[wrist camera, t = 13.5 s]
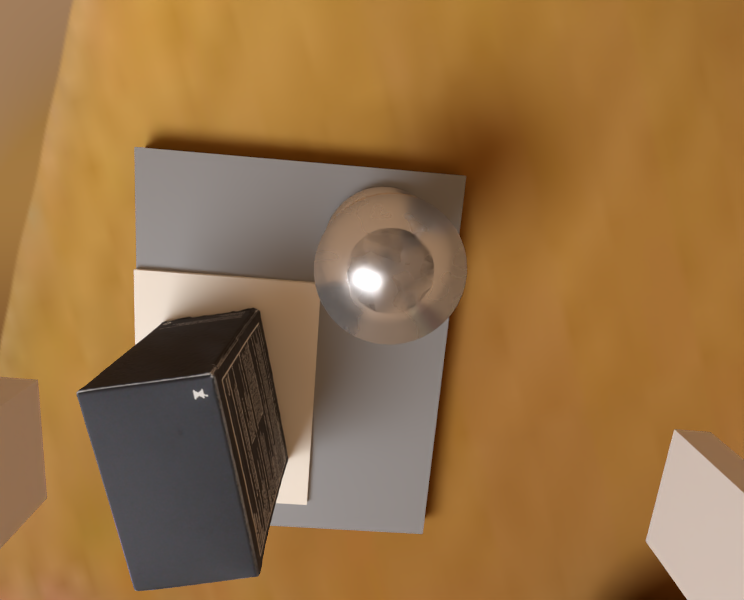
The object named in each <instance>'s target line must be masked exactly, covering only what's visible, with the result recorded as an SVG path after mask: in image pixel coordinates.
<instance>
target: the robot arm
mask: <svg viewBox="0 0 744 600" xmlns="http://www.w3.org/2000/svg"><path fill="white" fill-rule="evenodd" d="M46 499H47V492H46V479H45V466H44V453H43V440H42V427H41V414H40V401H39V388H38V380H32V379H19V378H7V377H0V548H1V547H2V546H3V545H4V544H5V543H6V542H7V541H8V540H9V539H10V538H11V536H12V535H13V534H14V533H15V532H16V531H17V530H18V529H19V528H20V527H21V526H22V525H23V524H24V522H25V521H26V520H27V519H28V518H29V517H30V516H31V515H32V514H33V513H34V512H35V511H36V509H37V508H38V507H39V506H40V505H41V504H42V503H43V502H44V501H45V500H46ZM646 542H647V544H648V545H649V546H650V548H651V549H652V551H653V552H654V554H655V555H656V556H657V558H658V559H659V561H660V562H661V563H662V565H663V566H664V568H665V569H666V571H667V572H668V573H669V575H670V576H671V578H672V579H673V580H674V582H675V583H676V585H677V586H678V587H679V589H680V590H681V592H682V593H683V595H684V596H685V597H686V599H687V600H744V460H743V459H742V458H741V457H740V456H739V455H737V454H736V453H735V452H734V451H732V450H731V449H730V448H729V447H728V446H726V445H725V444H724V443H723V442H722V441H720V440H719V439H718V438H717V437H716V436H714V435H713V434H712V433H711V432H703V431H690V430H677V429H674V433H673V436H672V440H671V444H670V448H669V452H668V456H667V460H666V464H665V468H664V472H663V476H662V479H661V483H660V487H659V491H658V495H657V499H656V503H655V507H654V511H653V515H652V519H651V523H650V526H649V530H648V534H647V538H646Z"/></svg>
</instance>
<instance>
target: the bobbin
mask: <svg viewBox="0 0 744 600" xmlns="http://www.w3.org/2000/svg"><path fill="white" fill-rule="evenodd" d="M466 277H467V260H466V254H465V249H464V246H463V243H462V240H461V238H460V236H459V234H458V232H457V230H456V229H455V227H454V226H453V224H452V223H451V221H450V220H449V219H448V218H447V217H446V216H445V215H444V214H443V213H442V212H440V211H439V210H438V209H437V208H435V207H434V206H432V205H431V204H429V203H427V202H426V201H423V200H421V199H419V198H417V197H416V196H414V195H412V194H411V193H408V192H406V191H404V190H401V189H397V188H393V187H372V188H368V189H365V190H362V191H360V192H357V193H355V194H354V195H352V196H350V197H349V198H347V199H346V200H345V201H344V202H343V203H342V204H341V205H340V206H339V207H338V208H337V209H336V211H335V212H334V213H333V215H332V217H331V218H330V220H329V223H328V225H327V227H326V230H325V231H324V233H323V235H322V237H321V240H320V242H319V244H318V247H317V251H316V255H315V261H314V279H315V286H316V289H317V293H318V296H319V298H320V301H321V303H322V305H323V306H324V308H325V310H326V312H327V313H328V314H329V315H330V317H331V318H332V319H333V320H334V321H335V322H336V323H337V324H338V325H339V326H340V327H341V328H343V329H344V330H345V331H347V332H348V333H350V334H352V335H353V336H355V337H357V338H360V339H362V340H365V341H368V342H372V343H377V344H393V345H394V344H402V343H407V342H411V341H414V340H417V339H419V338H422V337H424V336H426V335H428V334H429V333H431V332H433V331H434V330H435V329H437V328H438V327H439V326H440V325H442V324H443V323H444V322H445V321H446V320H447V319H448V317H449V316H450V315H451V314H452V312H453V311H454V309H455V308H456V306H457V305H458V303H459V301H460V299H461V296H462V293H463V290H464V287H465V283H466Z"/></svg>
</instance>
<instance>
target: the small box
mask: <svg viewBox="0 0 744 600" xmlns="http://www.w3.org/2000/svg"><path fill="white" fill-rule="evenodd" d="M77 397H78V400H79V404H80V407H81V410H82V414H83V417H84V421H85V424H86V428H87V431H88V434H89V437H90V441H91V444H92V447H93V450H94V454H95V457H96V460H97V464H98V467H99V470H100V474H101V477H102V481H103V484H104V487H105V491H106V494H107V497H108V501H109V504H110V508H111V511H112V514H113V518H114V521H115V525H116V528H117V532H118V535H119V538H120V542H121V545H122V549H123V552H124V556H125V559H126V562H127V566H128V569H129V573H130V576H131V580H132V583H133V587H134V589H135V590H136V591H144V590H155V589H163V588H172V587H180V586H187V585H196V584H202V583H211V582H219V581H227V580H234V579H241V578H249V577H257V576H259V574H260V571H261V567H262V558H263V554H264V549H265V544H266V540H267V536H268V530H269V527H270V523H271V520H272V516H273V512H274V508H275V504H276V500H277V497H278V493H279V489H280V486H281V482H282V478H283V475H284V472H285V469H286V465H287V463H288V454H287V449H286V443H285V437H284V432H283V427H282V422H281V417H280V411H279V406H278V401H277V396H276V391H275V386H274V381H273V373H272V369H271V364H270V360H269V354H268V349H267V344H266V339H265V334H264V330H263V325H262V320H261V314H260V310H258V309H256V308H252V309H250V308H247V309H243V310H241V311H231V312H229V313H222V314H215V315H203V316H199V317H184V318H179V319H175V320H172V321H165V322H162V323H161V324H160V325H159V326H158V327H157V328H155V329H154V330H153V331H152V332H151V333H149V334H148V335H147V336H146V337H144V338H143V339H142V340H141V341H139V342H138V343H137V344H136V345H135V346H134V347H132V348H131V349H130V350H128V351H127V352H126V353H125V354H124V355H123V356H121V357H120V358H119V359H117V360H116V361H115V362H114V363H113V364H111V365H110V366H109V367H107V368H106V369H105V370H104V371H103V372H101V373H100V374H99V375H98V376H97V377H95V378H94V379H93V380H92V381H91V382H89V383H88V384H87V385H86V386H84V387H83V388H81V389H80V390H79V391H78V392H77Z"/></svg>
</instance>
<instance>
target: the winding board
mask: <svg viewBox="0 0 744 600" xmlns="http://www.w3.org/2000/svg"><path fill="white" fill-rule="evenodd" d="M465 183H466V176H463V175H451V174H440V173H429V172H417V171H406V170H394V169H383V168H371V167H360V166H348V165H337V164H325V163H314V162H302V161H291V160H279V159H268V158H256V157H245V156H233V155H222V154H210V153H199V152H187V151H176V150H164V149H153V148H141V147H135V207H136V267H137V268H136V269H134V304H135V345H136V344H137V343H138V342H139V341H141V340H142V339H143V338H144V337H146V336H147V335H148V334H149V333H151V332H152V331H153V330H154V329H155V328H157V327H158V326H159V325H160V324H161V323H162V322H165V321H172V320H175V319H179V318H184V317H199V316H203V315H215V314H222V313H229V312H231V311H241V310H243V309H247V308H250V309H252V308H256V309H258V310H260V314H261V320H262V325H263V330H264V334H265V339H266V344H267V349H268V354H269V360H270V364H271V369H272V373H273V381H274V386H275V391H276V396H277V401H278V406H279V411H280V417H281V422H282V427H283V432H284V437H285V443H286V449H287V454H288V463H287V465H286V469H285V472H284V475H283V478H282V482H281V486H280V489H279V493H278V497H277V500H276V504H275V508H274V512H273V516H272V520H271V523H270V525H271V526H289V527H307V528H325V529H343V530H361V531H379V532H396V533H414V534H423V527H424V519H425V510H426V502H427V494H428V486H429V478H430V470H431V461H432V453H433V445H434V437H435V429H436V420H437V412H438V404H439V396H440V388H441V380H442V371H443V363H444V355H445V347H446V339H447V330H448V322H449V317H448V319H447V320H446V321H445V322H444V323H443V324H442V325H440V326H439V327H438V328H437V329H435V330H434V331H433V332H431V333H429V334H428V335H426V336H424V337H422V338H419V339H417V340H414V341H411V342H407V343H402V344H394V345H393V344H377V343H372V342H368V341H365V340H362V339H360V338H357V337H355V336H353V335H352V334H350V333H348V332H347V331H345V330H344V329H343V328H341V327H340V326H339V325H338V324H337V323H336V322H335V321H334V320H333V319H332V318H331V317H330V315H329V314H328V313H327V312H326V310H325V308H324V306H323V305H322V303H321V301H320V298H319V296H318V293H317V289H316V286H315V279H314V261H315V255H316V251H317V247H318V244H319V242H320V240H321V237H322V235H323V233H324V231H325V230H326V227H327V225H328V223H329V220H330V218H331V217H332V215H333V213H334V212H335V211H336V209H337V208H338V207H339V206H340V205H341V204H342V203H343V202H344V201H345V200H346V199H347V198H349V197H350V196H352V195H354V194H355V193H357V192H360V191H362V190H365V189H368V188H372V187H393V188H397V189H401V190H404V191H406V192H408V193H411V194H412V195H414V196H416V197H417V198H419V199H421V200H423V201H426V202H427V203H429V204H431V205H432V206H434V207H435V208H437V209H438V210H439V211H440V212H442V213H443V214H444V215H445V216H446V217H447V218H448V219H449V220H450V221H451V223H452V224H453V226H454V227H455V229H456V230H457V232H458V234H459V232H460V224H461V216H462V208H463V200H464V191H465Z"/></svg>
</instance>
